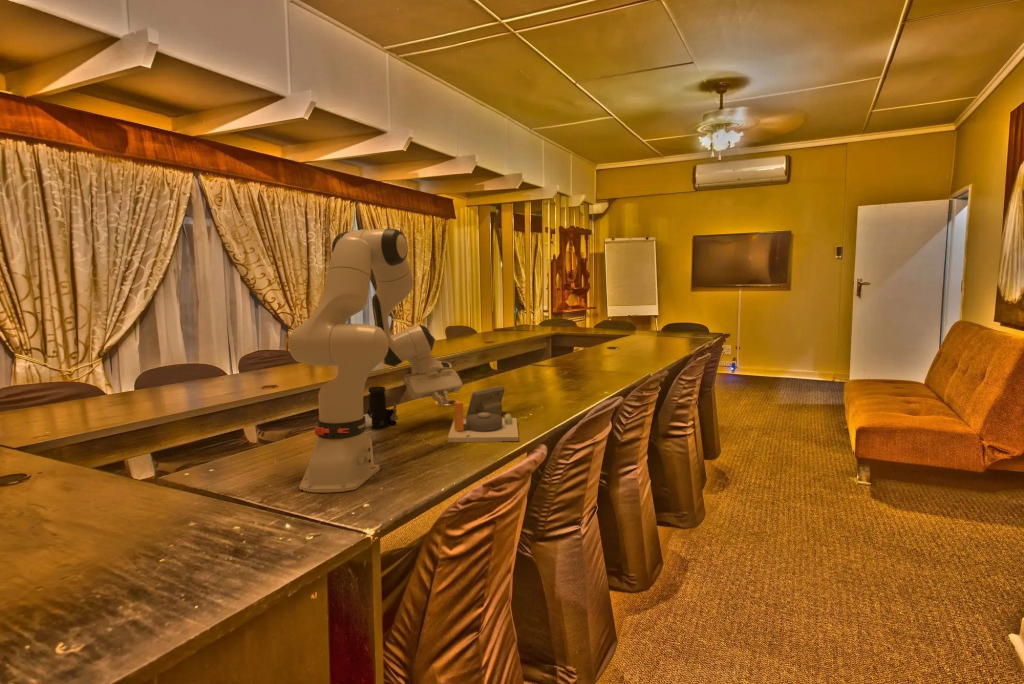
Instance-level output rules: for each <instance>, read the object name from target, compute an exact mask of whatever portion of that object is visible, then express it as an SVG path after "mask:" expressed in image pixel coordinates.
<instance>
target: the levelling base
mask: <svg viewBox="0 0 1024 684" xmlns="http://www.w3.org/2000/svg"><path fill="white" fill-rule="evenodd" d="M465 423H466V417H465V418H464V417H463V424H465ZM502 441H518V442H519V430H518V421H517V417H512V414H511V413H508V412H507V413H506V414H504V417H502V427H501V428H500V429H497V430H492V431H474V430H470V429H467V430H463V431H457V430H455V429H454V419H453V421H452V423H451V426H450V430H449V433H448V436H447V443H503V442H502Z"/></svg>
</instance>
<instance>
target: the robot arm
mask: <svg viewBox="0 0 1024 684" xmlns="http://www.w3.org/2000/svg"><path fill="white" fill-rule="evenodd" d="M408 251H409V246H408V242H407V238H406V236H405V235H404V234H403V232H401V231H400V230H399V229H396V228H390V227H389V228H386V229H385V228H384V229H383V228H373V229H372V228H370V229H369V228H366V229H365V228H364V229H363V228H362V229H357V230H352V231H345V232H344V231H343V232H341V233H339V234H337V235H336V236H335V238H334V239H333V241H332V243H331V256H330V260H329V264H328V268H327V275H326V280H325V285H324V289H323V292H322V297H321V299H320V302H319V304H318V306H317V307H316V309H315V310H314V312H313V313H312V314H311V315H310V316H309V317H308V318H307V320H304V322H302V323H301V324H299V325H298V326H296V327H295V328H294V329H293V330H292V332H291V333H290V336H289V338H288V351H289V354H290V355H291V357H292V358H293V360H294V361H296V362H298V363H301V364H305V365H310V366H315V367H316V366H320V367H321V366H322V367H326V366H327V367H338V368H337V375H336V377H335V378H332V379H331V380H329V381H327V382H326V383H324V384H323V385H322V386H321V387H320V389H319V391H318V394H317V396H318V418H319V419H318V420H317V425H316V427H315V428H314V434H315V436H317V437H316V438H315V440H314V443H313V447H312V451H311V454H310V458H309V462H308V466H307V468H306V471H305V473H304V474H303V477H302V478H301V482H300V484H299V487H298V489H300V490H299V491H301V490H303V491H302V492H306V491H307V492H306V493H323V494H324V493H340V492H341V493H342V492H349V491H355V490H357V489H358V488H360V487H361V486H362V485H363V484H364V483H365V482H367V481H368V480H369V479H371V478H372V477H373V476H374V475H375V474H377V473H378V472H379V471H380V465H378V464H375V463H374V452H373V451H374V449H373V442H372V441H373V440H372V438H371V437H370V436H369V435H368V434H367V433H366V429H367V428H366V424H367V421H366V416H364V395H365V393H364V391H365V385H366V383H367V380H368V378H369V376H370V374H371V372H372V371H373V370H374V369H375V368H376V367H377V366H378V365H380V364H381V363H383V365H387V366H390V367H396V366H398V365H400V364H402V363H404V362H405V361H407V362H408V364H410V366H411V367H410V368H411V371H412V373H406V374H405V375H404V376H403V382H404V383H405V385H406V390H407V391H408V394H409V397H410V398H411V399H413V400H417V399H423V398H424V399H425V398H429V397H432V399H433V400H435V401H436V402H438V404H439V406H444V405H448V404H449V403H450V401H449V398H448V394H452V393H457V392H460V390H461V388H462V387H463V382H462V379H461V378H460V376H459V374H458V373H457V372H456V371H455V369H452V368H453V365H452V364H451V363H450V362H448V361H447V362H446V361H441V360H438V359H436V358H435V357H434V356H433V355H432V353H431V352H432V351H433V348H434V345H435V341H434V337H433V336H432V334H431V332H430V330H429V329H428V327H426V325H423V324H416V325H413V326H411V327H408V328H406V329H404V330H401V331H398V332H397V333H394V334H392V335H391V330H390V324H389V316H390V314H391V313H392V311H393V310H394V309H395V308H396V307H397V306H398V305H399V304H401V302H403V301H405V299H406V298H407V297H409V295H410V294H411V292H412V289H413V287H414V278H413V274H412V270H411V267H410V264H409V261H408V260H407V259H408V258H407V257H408ZM372 270H373V274H374V277H375V279H376V291H375V294H374V295H373V296H372V299H371V307H372V315H373V321H374V325H371V324H366V323H347V322H348V320H349V319H350V318H352V316H354V315H356V314H358V313H360V312H361V311H363V310H364V309H365V307H366V305H367V303H368V297H369V289H370V282H371V274H372Z"/></svg>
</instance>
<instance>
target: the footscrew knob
mask: <svg viewBox="0 0 1024 684" xmlns="http://www.w3.org/2000/svg"><path fill="white" fill-rule="evenodd" d="M453 411H454V413H453V415H454V416H453V420H454V429H455V430H457V431H463V430H467V429H470V430H474V431H492V430H497V429H500V428H501V427H502V418H503V415H502V416H501V415H498V414H493V413H486V412H483V413H478V414H472V415H469V416H467V415H466V417H465V418H466V423H465V424H463V418H464V402H462V401H453Z"/></svg>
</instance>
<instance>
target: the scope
mask: <svg viewBox="0 0 1024 684" xmlns="http://www.w3.org/2000/svg"><path fill="white" fill-rule="evenodd" d="M385 392H386V388H385V386H371V387H369V388H368V393H369V394H368V395H369V396H368V406H369V407H368V409H367V415H368V417H369V418H370V419H371V429H372V430H383V429H385V427H386V428H387V427H388V426H395V425H397V421H398V419H399V416H398V415H397V411H398V410H397V403H396V402H394V403H393V404H392V405H393V408H390V409H389V408H387V406H386V404H387V403H386V393H385Z"/></svg>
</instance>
